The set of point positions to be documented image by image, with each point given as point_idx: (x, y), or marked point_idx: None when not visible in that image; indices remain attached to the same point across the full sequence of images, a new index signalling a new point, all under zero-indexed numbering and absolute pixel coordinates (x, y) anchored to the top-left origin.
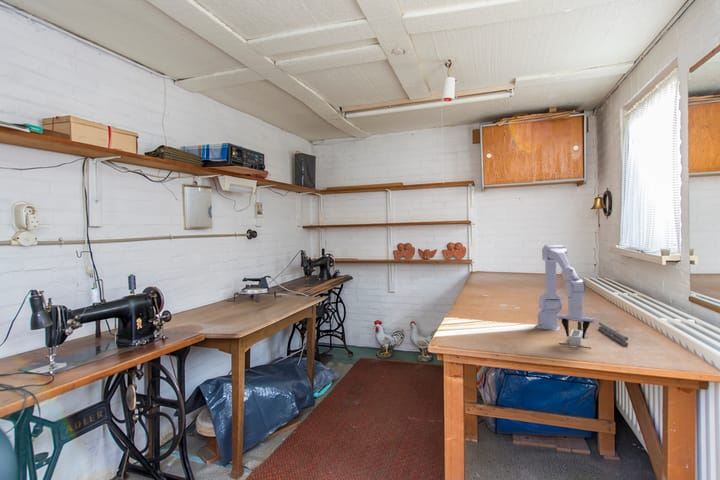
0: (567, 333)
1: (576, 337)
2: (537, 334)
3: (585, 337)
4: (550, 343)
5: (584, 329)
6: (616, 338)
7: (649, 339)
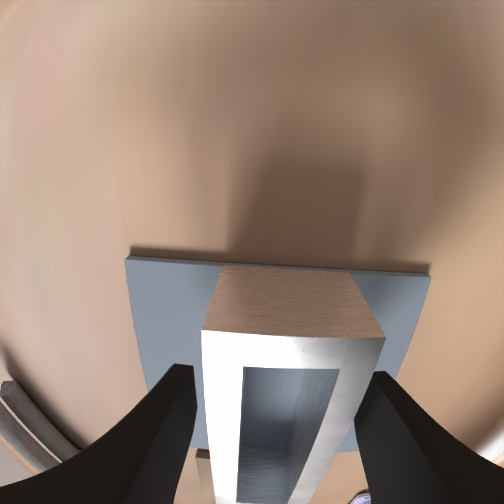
0: (395, 395)
1: (269, 327)
2: (486, 407)
3: (211, 471)
4: (487, 255)
5: (107, 466)
6: (63, 451)
7: None
